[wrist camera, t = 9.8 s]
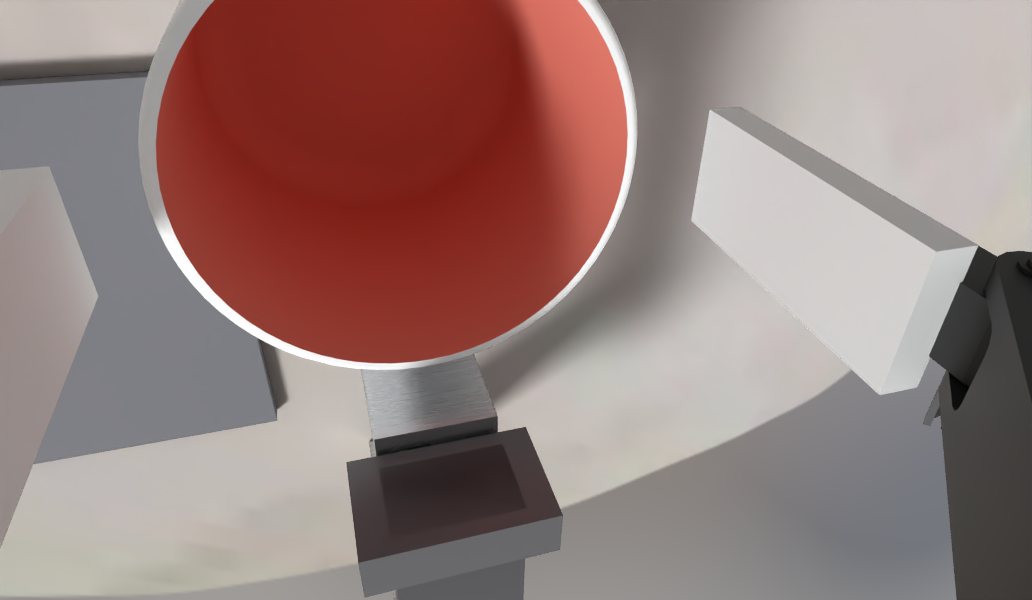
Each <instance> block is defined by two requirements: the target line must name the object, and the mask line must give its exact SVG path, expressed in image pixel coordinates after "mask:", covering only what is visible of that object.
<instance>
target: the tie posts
mask: <svg viewBox="0 0 1032 600" xmlns="http://www.w3.org/2000/svg"><path fill="white" fill-rule="evenodd" d="M361 372H362V378H363V384H364V390H365V396H366V402H367V408H368V414H369V420H370V426H371V432H372V438H373V441H370V442H369V445H370V452H371V457H376V456H381V455H386V454H391V453H396V452H401V451H406V450H412V449H417V448H422V447H427V446H432V445H437V444H442V443H447V442H452V441H457V440H462V439H467V438H472V437H478V436H483V435H488V434H493V433H498V416H497V413H496V411H495V408H494V405H493V403H492V400H491V398H490V395H489V392H488V390H487V387H486V385H485V382H484V379H483V377H482V374H481V371H480V369H479V366H478V364H477V361H476V358H475V356H474V354H472V355H469V356H466V357H462V358H459V359H456V360H452V361H449V362H445V363H440V364H435V365H430V366H425V367H418V368H409V369H398V370H369V369H361ZM393 597H394V600H396V592H395V590H393Z"/></svg>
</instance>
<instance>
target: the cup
mask: <svg viewBox="0 0 1032 600" xmlns="http://www.w3.org/2000/svg"><path fill="white" fill-rule="evenodd" d="M138 146H139V160H140V169H141V175H142V181H143V186H144V190H145V194H146V198H147V201H148V205H149V208H150V211H151V214H152V216H153V219H154V222H155V224H156V227H157V229H158V231H159V233H160V235H161V237H162V239H163V241H164V243H165V245H166V247H167V249H168V251H169V252H170V254H171V255H172V257H173V259H174V260H175V262H176V263H177V265H178V267H179V268H180V269H181V271H182V272H183V273H184V274H185V276H186V277H187V278H188V280H189V281H190V282H191V284H192V285H193V286H194V287H195V288H196V289H197V290H198V291H199V292H200V293H201V294H202V296H203V297H204V298H205V299H206V300H207V301H209V302H210V303H211V304H212V305H213V306H214V307H215V308H216V309H217V310H218V311H219V312H221V313H222V314H223V315H225V316H226V317H227V318H228V319H230V320H231V321H232V322H234V323H235V324H236V325H238V326H239V327H241V328H242V329H244V330H246V331H247V332H249V333H250V334H252V335H253V336H255V337H257V338H259V339H261V340H263V341H264V342H266V343H268V344H270V345H272V346H275V347H277V348H279V349H281V350H284V351H286V352H289V353H291V354H294V355H297V356H300V357H303V358H307V359H310V360H314V361H318V362H322V363H326V364H330V365H334V366H341V367H347V368H354V369H369V370H398V369H409V368H418V367H425V366H430V365H435V364H440V363H445V362H449V361H452V360H456V359H459V358H462V357H466V356H469V355H472V354H474V353H477V352H479V351H482V350H484V349H487V348H489V347H492V346H494V345H496V344H498V343H500V342H501V341H503V340H505V339H507V338H509V337H511V336H513V335H515V334H516V333H518V332H520V331H521V330H523V329H524V328H526V327H528V326H529V325H531V324H532V323H534V322H535V321H536V320H538V319H539V318H540V317H542V316H543V315H544V314H545V313H547V312H548V311H549V310H551V309H552V308H553V307H554V306H555V305H556V304H557V303H558V302H559V301H561V300H562V299H563V298H564V297H565V296H566V295H567V294H568V293H569V292H570V291H571V290H572V289H573V288H574V287H575V285H576V284H577V283H578V282H579V281H580V280H581V279H582V278H583V276H584V275H585V274H586V273H587V271H588V270H589V269H590V267H591V266H592V265H593V263H594V262H595V261H596V259H597V258H598V256H599V254H600V253H601V251H602V250H603V248H604V247H605V245H606V243H607V242H608V240H609V238H610V236H611V234H612V232H613V230H614V228H615V226H616V224H617V222H618V219H619V217H620V214H621V212H622V209H623V207H624V204H625V201H626V198H627V195H628V192H629V188H630V184H631V180H632V176H633V171H634V164H635V158H636V149H637V109H636V99H635V93H634V87H633V82H632V77H631V73H630V70H629V67H628V63H627V60H626V57H625V54H624V51H623V49H622V46H621V44H620V41H619V39H618V36H617V34H616V32H615V31H614V29H613V27H612V25H611V23H610V21H609V19H608V17H607V15H606V14H605V12H604V11H603V9H602V8H601V6H600V4H599V3H598V1H597V0H180V2H179V4H178V6H177V8H176V10H175V12H174V15H173V17H172V19H171V21H170V23H169V25H168V27H167V29H166V31H165V33H164V35H163V37H162V39H161V41H160V44H159V46H158V49H157V51H156V53H155V56H154V58H153V61H152V63H151V66H150V70H149V73H148V76H147V80H146V83H145V87H144V92H143V98H142V103H141V109H140V117H139V135H138Z"/></svg>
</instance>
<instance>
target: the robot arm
mask: <svg viewBox="0 0 1032 600" xmlns="http://www.w3.org/2000/svg"><path fill="white" fill-rule="evenodd" d="M691 221H692V222H693V223H694V224H695V225H696V226H697V227H699V228H700V229H701V230H702V231H703V232H704V233H705V234H706V235H707V236H708V237H709V238H710V239H711V240H713V241H714V242H715V243H716V244H717V245H718V246H719V247H720V248H721V249H722V250H723V251H724V252H726V253H727V254H728V255H729V256H730V257H731V258H732V259H733V260H734V261H735V262H736V263H737V264H739V265H740V266H741V267H742V268H743V269H744V270H745V271H746V272H747V273H748V274H749V275H750V276H751V277H753V278H754V279H755V280H756V281H757V282H758V283H759V284H760V285H761V286H762V287H763V288H764V289H766V290H767V291H768V292H769V293H770V294H771V295H772V296H773V297H774V298H775V299H776V300H777V301H778V302H780V303H781V304H782V305H783V306H784V307H785V308H786V309H787V310H788V311H789V312H790V313H791V314H793V315H794V316H795V317H796V318H797V319H798V320H799V321H800V322H801V323H802V324H803V325H804V326H806V327H807V328H808V329H809V330H810V331H811V332H812V333H813V334H814V335H815V336H816V337H817V338H818V339H820V340H821V341H822V342H823V343H824V344H825V345H826V346H827V347H828V348H829V349H830V350H831V351H833V352H834V353H835V354H836V355H837V356H838V357H839V358H840V359H841V360H842V361H843V362H844V363H845V364H847V365H848V366H849V367H850V368H851V369H852V370H853V371H854V372H855V373H856V374H857V375H858V376H860V377H861V378H862V379H863V380H864V381H865V382H866V383H867V384H868V385H869V386H870V387H871V388H873V389H874V390H875V391H876V392H877V393H878V394H879V395H882V394H887V393H892V392H897V391H901V390H906V389H911V388H916V387H917V386H918V384H919V382H920V380H921V377H922V375H923V373H924V370H925V368H926V366H927V363H928V361H929V359H930V357H931V358H932V359H933V360H935V361H936V362H937V363H938V364H940V365H941V366H942V367H943V368H945V369H946V372H945V374H944V376H943V379H942V381H941V383H940V385H939V387H938V390H937V392H936V394H935V397H934V398H933V401H932V403H931V405H930V407H929V410H928V412H927V414H926V416H925V419H924V422H923V424H925V425H929V426H930V425H931V423H932V421H933V419H934V418H936V417H938V416H940V415H941V429H942V436H943V449H944V460H945V471H946V481H947V494H948V504H949V516H950V529H951V539H952V552H953V562H954V574H955V585H956V597H957V600H1032V252H1025V251H1014V252H1006V253H1004V254H1002V255H999V256H998V257H997V256H995V255H993V254H992V253H990V252H988V251H987V250H985V249H983V248H981V247H980V246H978V245H977V244H975V243H974V242H972V241H970V240H969V239H967V238H965V237H963V236H962V235H960V234H958V233H956V232H955V231H953V230H951V229H950V228H948V227H946V226H944V225H943V224H941V223H939V222H938V221H936V220H934V219H932V218H931V217H929V216H927V215H926V214H924V213H922V212H920V211H919V210H917V209H915V208H913V207H912V206H910V205H908V204H907V203H905V202H903V201H901V200H900V199H898V198H896V197H895V196H893V195H891V194H889V193H888V192H886V191H884V190H883V189H881V188H879V187H877V186H876V185H874V184H872V183H870V182H869V181H867V180H865V179H864V178H862V177H860V176H858V175H857V174H855V173H853V172H852V171H850V170H848V169H846V168H845V167H843V166H841V165H840V164H838V163H836V162H834V161H833V160H831V159H829V158H828V157H826V156H824V155H822V154H821V153H819V152H817V151H815V150H814V149H812V148H810V147H809V146H807V145H805V144H803V143H802V142H800V141H798V140H797V139H795V138H793V137H791V136H790V135H788V134H786V133H785V132H783V131H781V130H779V129H778V128H776V127H774V126H772V125H771V124H769V123H767V122H766V121H764V120H762V119H760V118H759V117H757V116H755V115H754V114H752V113H750V112H748V111H747V110H745V109H743V108H742V107H732V108H721V109H710V112H709V118H708V123H707V129H706V135H705V141H704V147H703V153H702V159H701V165H700V171H699V177H698V183H697V189H696V195H695V201H694V207H693V213H692V219H691ZM97 298H98V294H97V291H96V288H95V286H94V283H93V281H92V278H91V275H90V273H89V270H88V267H87V265H86V262H85V259H84V257H83V254H82V252H81V249H80V246H79V244H78V241H77V238H76V236H75V233H74V231H73V228H72V225H71V223H70V220H69V217H68V215H67V212H66V209H65V207H64V204H63V202H62V199H61V196H60V194H59V191H58V188H57V186H56V183H55V181H54V178H53V175H52V173H51V170H50V167H49V166H46V167H34V168H22V169H11V170H0V548H1V545H2V543H3V540H4V537H5V535H6V532H7V530H8V527H9V525H10V522H11V519H12V517H13V514H14V512H15V509H16V507H17V504H18V501H19V499H20V496H21V494H22V491H23V489H24V486H25V483H26V481H27V478H28V476H29V473H30V471H31V468H32V465H33V463H34V460H35V458H36V455H37V453H38V450H39V447H40V445H41V442H42V440H43V437H44V435H45V432H46V429H47V427H48V424H49V422H50V419H51V417H52V414H53V411H54V409H55V406H56V404H57V401H58V399H59V396H60V393H61V391H62V388H63V386H64V383H65V381H66V378H67V375H68V373H69V370H70V368H71V365H72V363H73V360H74V357H75V355H76V352H77V350H78V347H79V345H80V342H81V340H82V337H83V334H84V332H85V329H86V327H87V324H88V322H89V319H90V316H91V314H92V311H93V309H94V306H95V304H96V301H97Z"/></svg>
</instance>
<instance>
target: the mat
mask: <svg viewBox="0 0 1032 600" xmlns="http://www.w3.org/2000/svg"><path fill="white" fill-rule="evenodd" d="M148 73H149V71H146V72H130V73H113V74H96V75H80V76H63V77H47V78H30V79H13V80H0V170H11V169H22V168H34V167H46V166H49V167H50V170H51V173H52V175H53V178H54V181H55V183H56V186H57V188H58V191H59V194H60V196H61V199H62V202H63V204H64V207H65V209H66V212H67V215H68V217H69V220H70V223H71V225H72V228H73V231H74V233H75V236H76V238H77V241H78V244H79V246H80V249H81V252H82V254H83V257H84V259H85V262H86V265H87V267H88V270H89V273H90V275H91V278H92V281H93V283H94V286H95V288H96V291H97V294H98V298H97V301H96V304H95V306H94V309H93V311H92V314H91V316H90V319H89V322H88V324H87V327H86V329H85V332H84V334H83V337H82V340H81V342H80V345H79V347H78V350H77V352H76V355H75V357H74V360H73V363H72V365H71V368H70V370H69V373H68V375H67V378H66V381H65V383H64V386H63V388H62V391H61V393H60V396H59V399H58V401H57V404H56V406H55V409H54V411H53V414H52V417H51V419H50V422H49V424H48V427H47V429H46V432H45V435H44V437H43V440H42V442H41V445H40V447H39V450H38V453H37V455H36V458H35V460H34V463H33V464H37V463H43V462H48V461H54V460H60V459H65V458H71V457H76V456H82V455H88V454H93V453H99V452H104V451H110V450H116V449H121V448H127V447H132V446H138V445H144V444H149V443H155V442H160V441H166V440H172V439H177V438H183V437H188V436H194V435H200V434H205V433H211V432H216V431H222V430H228V429H233V428H239V427H244V426H250V425H256V424H261V423H267V422H272V421H277V409H276V405H275V401H274V397H273V392H272V388H271V384H270V380H269V376H268V372H267V368H266V363H265V359H264V355H263V351H262V347H261V343H260V339H259V338H257V337H255V336H253V335H252V334H250V333H249V332H247V331H246V330H244V329H242V328H241V327H239V326H238V325H236V324H235V323H234V322H232V321H231V320H230V319H228V318H227V317H226V316H225V315H223V314H222V313H221V312H219V311H218V310H217V309H216V308H215V307H214V306H213V305H212V304H211V303H210V302H209V301H207V300H206V299H205V298H204V297H203V296H202V294H201V293H200V292H199V291H198V290H197V289H196V288H195V287H194V286H193V285H192V284H191V282H190V281H189V280H188V278H187V277H186V276H185V274H184V273H183V272H182V271H181V269H180V268H179V267H178V265H177V263H176V262H175V260H174V259H173V257H172V255H171V254H170V252H169V251H168V249H167V247H166V245H165V243H164V241H163V239H162V237H161V235H160V233H159V231H158V229H157V227H156V224H155V222H154V219H153V216H152V214H151V211H150V208H149V205H148V201H147V198H146V194H145V190H144V186H143V181H142V175H141V169H140V160H139V146H138V135H139V117H140V109H141V103H142V98H143V92H144V87H145V83H146V80H147V76H148Z"/></svg>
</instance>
